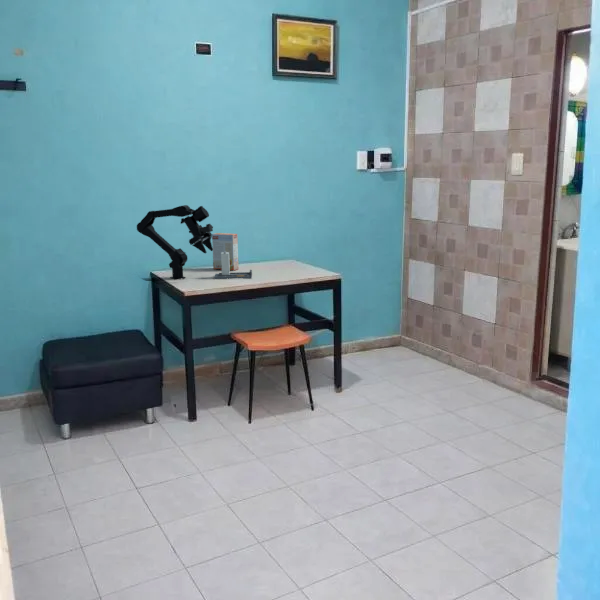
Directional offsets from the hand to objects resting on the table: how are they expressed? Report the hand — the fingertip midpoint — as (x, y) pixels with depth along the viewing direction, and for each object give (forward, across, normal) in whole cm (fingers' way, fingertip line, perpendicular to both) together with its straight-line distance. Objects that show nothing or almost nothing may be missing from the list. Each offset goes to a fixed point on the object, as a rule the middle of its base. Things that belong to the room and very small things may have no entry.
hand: (209, 251), depth 344 cm
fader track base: (+18, +8, -1) cm, 20 cm away
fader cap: (+15, +7, +2) cm, 17 cm away
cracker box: (+12, +32, +10) cm, 35 cm away
